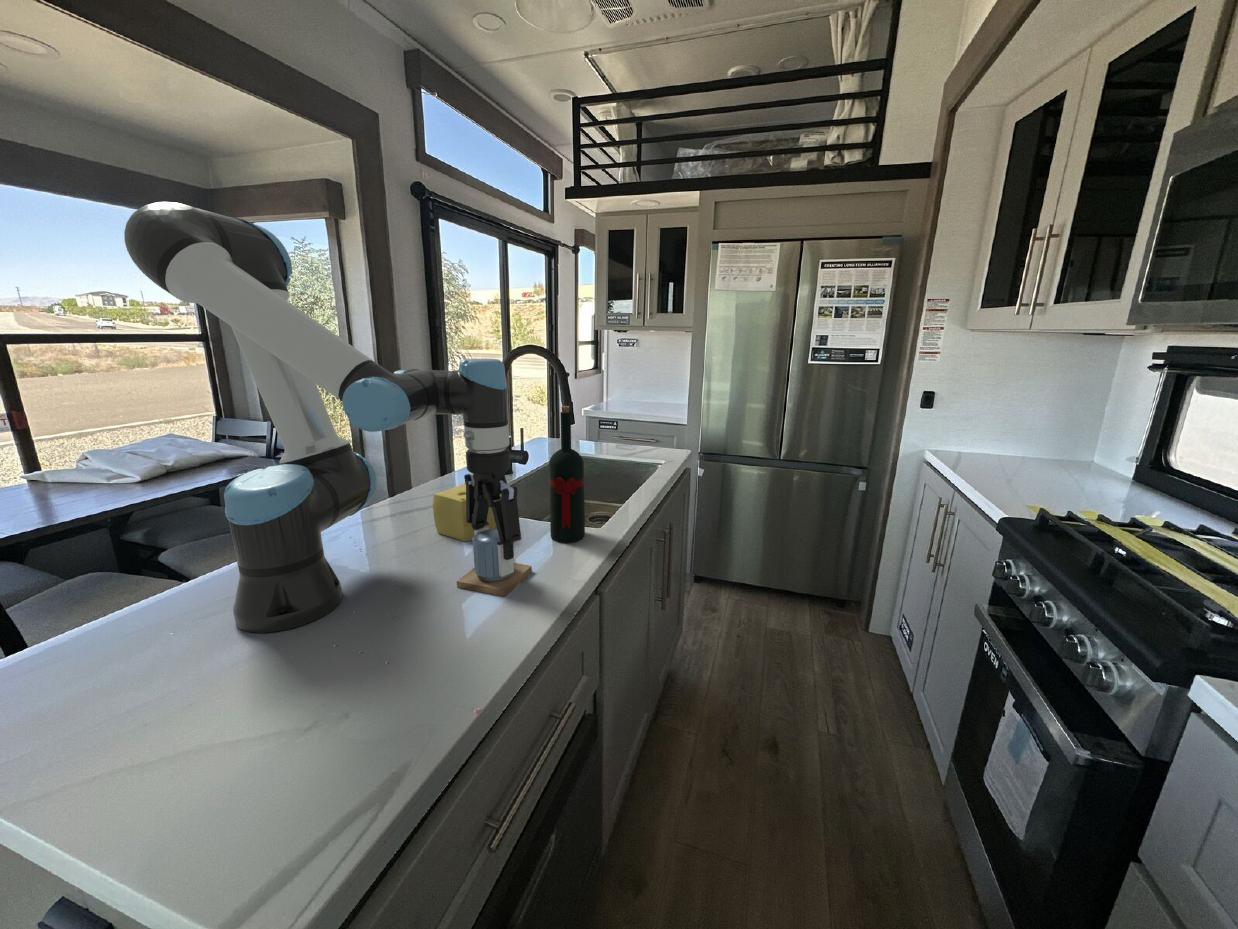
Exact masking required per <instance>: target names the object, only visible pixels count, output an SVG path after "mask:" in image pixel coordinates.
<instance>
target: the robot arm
mask: <svg viewBox="0 0 1238 929" xmlns="http://www.w3.org/2000/svg"><path fill="white" fill-rule="evenodd" d="M123 234H124V244H125V248H126V251H127V253H128V255H129V257H130V258H131V260H132V262H133V263H134V264H135V267H137V268H138V270H139V271H141V273H142V274H143V275H144V276H145V277H147V278H148V279H149V280H150V281H151V282H153V283H154V284H155V285H157V286H158V287H159V288H161V289H162V290H164V291H165V292H166V293H168V294H170V295H171V296H173V297H175V298H176V299H177V300H179V301H181V302H184V303H189V304H194V303H195V304H197V305H199V306H201V307H202V308H204V310H205V309H206V311H208V312H209V313H211V314H213V315H214V316H215V317H216V318H218V319H220V320H221V321H223V322H225V323H226V324H227V325H229V326H230V328H231V330H232V332H233V335H234V337H235V339H236V341H237V343H238V347H239V348H240V350H241V353H242V355H243V357H244V358H243V359H244V360H245V362H246V364H247V367H248V369H249V371H250V373H251V375H252V378H253V381H254V383H255V385H256V387H257V389H258V392H259V394H260V396H261V398H262V401H263V403H264V405H265V408H266V410H267V412H268V414H269V417H270V419H271V421H272V424H273V426H274V428H275V430H276V433H277V435H278V437H279V439H280V441H281V444H282V447H283V448H284V452H283V454H282V457H281V458H280V460H279V464H275V465H271V466H267V467H266V468H257V469H254V470H251V471H249V472H246V473H243V474H241V475H239V476H238V477H236V478H234V479H233V480H232V481H230V482H229V483H228V484H227V485H226V487H225V490H224V492H223V497H224V499H223V500H224V504H225V505H224V506H225V507H224V516H225V518H226V519H227V523H228V524H227V525H228V528H229V534H230V538H231V541H232V546H233V550H234V554H235V558H236V563H237V566H238V572H239V579H238V583H237V588H236V593H235V601H234V603H233V607H232V608H233V609H232V611H233V612H232V613H233V617H234V621H235V625H236V626H237V628H239V629H240V630H242V631H244V632H249V633H258V634H261V633H263V634H264V633H274V632H280V631H285V630H291V629H295V628H298V627H301V626H303V625H307V624H310V623H311V622H314V621H316V620H318V619H320V618H322V617H324V616H326V615H328V613H330V612H331V611H333V610H334V609H335V608H336V607H337V606H339V604H340V603H341V601H342V599H343V590H342V589H343V588H342V584H341V580H339V578H338V576H337V575H336V573H335V571H334V569H333V568H332V567H331V565H330V563H329V562H328V560H327V559H326V556H325V553H324V552H325V551H324V546H323V539H322V538H323V537H322V532H324V531H325V530H327V529H329V528H331V527H332V526H334V525H336V524H338V523H339V522H341V521H343V520H345V519H346V518H348V517H351V516H353V515H355V514H357V513H359V512H360V511H361V510H362V509H363V508H364V507H366V506H367V505H368V504H369V503H370V502H371V501H372V500H373V497H374V496H375V493H376V490H377V483H378V479H377V475H376V471H375V468H374V466H373V465H372V463H371V462H370V461H369V460H368V458H366V457H363V455H362V454H360V453H358V452H357V451H356V452H355V451H354V450H353V448H352V446H351V443H350V440H347V439H345V438H343V437H341V436H339V435H338V434H337V432H336V430H335V428H334V425H333V423H332V420H331V417H330V415H329V413H328V411H327V408H326V405H325V403H324V401H323V397H322V395H321V393H320V391H319V389H318V387H320V388H321V389H323V390H325V391H326V392H328V393H329V394H331V395H332V396H334V397H335V398H336V399H338V400H339V401H341V403H342V409H343V411H344V414H345V415H346V416H347V418H348V419H349V420H348V421H349V422H350V423H351V424H352V425H353V426H354V427H356V428H358V429H359V430H362V431H365V432H371V433H374V432H375V433H376V432H383V431H387V430H388V431H389V430H393V429H394V430H395V429H397V428H398V427H401V426H402V425H405V424H407V423H410V422H413V421H417V420H420V419H422V418H425V417H428V416H431V415H454V416H455V415H458V416H459V415H462V418H463V419H462V421H463V427H464V429H463V430H464V433H463V439H464V444H465V445H464V446H465V447H466V449H467V450H466V451H465V463H466V470H467V471H468V472H469V473H467V474H465V475H464V478H463V479H464V483H465V484H466V521H467V523H471V526H472V528H473V529H474V535H475V534H477V533H479V532H482V531H485V530H489V527H484V526H486V525H489V523H488V522H487V515H488V510H489V507H491V508H492V511H493V515H494V519H495V523H496V527H497V530H498V534H499V538H500V541H499V542H497V546H498V563H499V576H501V577H503V576H505V575H508V574H510V573H513V572H514V563H515V553H514V552H515V551H514V549H515V548H514V542H518V541H520V540H522V533H521V525H520V515H519V509H518V487H517V486H510V485H508V482H507V478H506V473H507V471H509V469H510V468H511V458H510V457H511V452H510V449H509V448H508V447H509V445H510V430H509V429H510V428H509V419H508V384H507V378H506V368H505V364H504V363H503V361H501V360H499V359H496V358H465V359H461V360H460V361H459V363H458V364H459V365H458V370H438V369H437V370H435V369H431V370H430V369H418V368H412V369H400V370H399V369H398V370H396V371H394V372H393V373H392V372H390V370H388V369H386V368H384V367H383V366H381V365H380V364H378V363H377V362H376V361H374V360H373V359H372V358H370V357H368V356H367V355H365V354H364V353H363V352H361V351H360V350H358V349H357V348H355V347H354V346H353V345H351V344H350V343H348V342H347V341H345V340H344V339H343V338H341V337H340V336H338V335H337V334H336V333H334V332H332V331H331V330H330V329H328V328H327V327H325V326H324V325H322V324H321V323H320V322H318V321H317V320H315V319H314V318H312V317H311V316H310V315H309V314H306V312H304V311H302V310H301V309H300V308H299V307H296V306H295V305H294V304H293V303H291V302H289V301H288V300H289V299H290V297H291V293H290V291H289V289H288V286H289V285H290V282H291V278H290V277H291V275H292V274H293V265H292V261H291V257H290V254H289V252H288V251H287V249H286V247H285V245H284V243H282V242H281V241H280V239H279V238H278V237H276V235H275V234H274V233H272V232H271V231H269V230H268V229H267V228H265V227H264V226H263V227H262V226H260V225H259V224H255V223H253V222H251V221H249V220H246V219H244V218H241V217H240V218H239V217H235V216H234V217H233V216H228V215H227V216H226V215H223V214H219V213H217V212H213V211H209V210H206V209H205V210H204V209H201V208H198V207H194V206H191V205H189V204H188V205H187V204H183V203H180V202H173V201H172V202H171V201H157V202H153V203H148V204H146V205H143V206H142V207H139V208H138V209H137V210H135V211H134V212H133V213H132V214H131V215H130V217H129V218H128V220H127V222H126V224H125V227H124V232H123ZM495 500H496V502H494V501H495ZM472 515H473V516H472ZM487 523H488V524H487ZM513 558H514V560H513Z"/></svg>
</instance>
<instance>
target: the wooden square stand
mask: <svg viewBox="0 0 1238 929" xmlns="http://www.w3.org/2000/svg"><path fill="white" fill-rule="evenodd" d="M532 570H533V567H532V565H529V564H525V563H524V564H523V563H517V562H514V572H513V573H510V574H508V575H505V576H503V577H501V576H500V577H495V578H487V577H481V576H479V575H477V574H476V573H475V567H473V568H472V569H471V570H469V571H468V572H467V573H466V574H464V575H462V576H461V577H460V578H459V579H458V580H456V587H457V588H460V589H464V590H465V589H466V590H470V591H476V592H480V593H486V594H489V595H490V594H491V595H494V596H495V595H496V596H500V597H506V596H507V595H508V594H509V593H510V592H511V591H513V589H515V587H517V586H518V585H519V584H520V583H521V582H523V580H525V579H526V577H528V576H529V575H530V574H531V573H532V572H533V571H532Z"/></svg>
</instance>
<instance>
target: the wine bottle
mask: <svg viewBox="0 0 1238 929" xmlns="http://www.w3.org/2000/svg"><path fill="white" fill-rule="evenodd" d="M571 413H572V412H571V411H570V406H569V405H562V406H561V411H560V412H559V414H560V418H559V419H560V449H558V450H557V451H556V452H554V453H553V454H552V455H551V457H550V458H549V461H548V465H549V466H548V473H549V475H548V476H549V477H548V478H549V521H550V523H549V524H550V528H549V530H550V539H551V540H552V541H553V542H555V543H560V544H571V543H577V542H580V541H583V539H584V538H585V536H586V530H585V529H586V525H585V524H586V523H585V522H586V521H585V519H586V518H585V515H586V514H585V511H586V510H585V469H584V468H585V464H584V463H585V462H584V459H583V457H582V456H581V454H580V453H579V452H578V451H576V450H575V449H573V448H572V418H571V416H572V414H571Z"/></svg>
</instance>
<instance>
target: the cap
mask: <svg viewBox="0 0 1238 929" xmlns="http://www.w3.org/2000/svg"><path fill="white" fill-rule="evenodd" d="M471 541H472V549H473V550H472V552H473V553H472V554H473V564H474V567H473V568H475V573H476V574H477V575H479V576H481V577H487V578H495V577H500V576H499V563H498V546H497V542H499V541H500V538H499V534H498V530H497V529H490V530H485V531H482V532H479V533H477V534H475V535H474V536H473V538H472V539H471ZM513 560H514V561H515V557H514V558H513Z"/></svg>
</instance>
